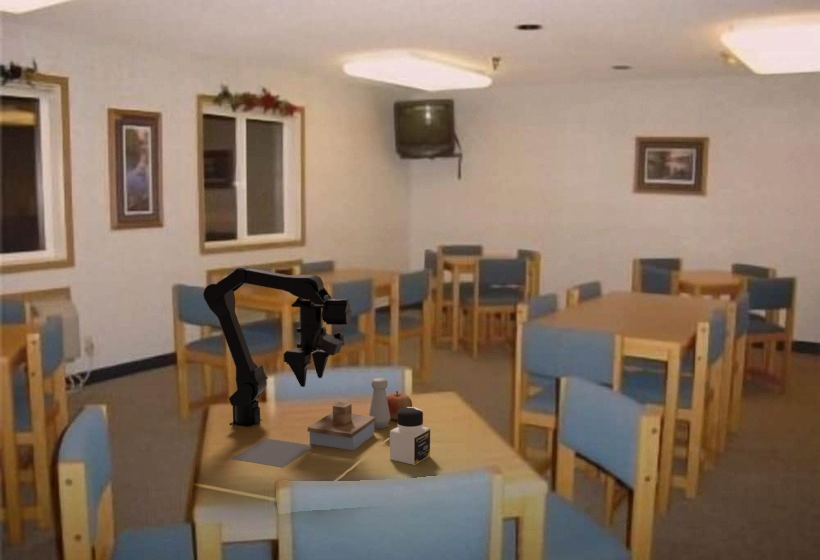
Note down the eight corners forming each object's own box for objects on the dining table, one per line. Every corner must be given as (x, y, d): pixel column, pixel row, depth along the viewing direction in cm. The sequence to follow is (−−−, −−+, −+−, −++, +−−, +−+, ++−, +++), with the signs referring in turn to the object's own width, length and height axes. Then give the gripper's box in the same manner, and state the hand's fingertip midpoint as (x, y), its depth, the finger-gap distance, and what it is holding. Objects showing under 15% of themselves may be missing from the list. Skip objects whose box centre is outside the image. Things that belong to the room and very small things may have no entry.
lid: (307, 431, 189) (307, 409, 188) (334, 414, 202) (333, 394, 201) (351, 437, 184) (351, 415, 184) (375, 420, 197) (375, 399, 196)
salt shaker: (387, 430, 202) (387, 382, 200) (366, 429, 203) (366, 381, 201) (392, 423, 207) (392, 376, 205) (371, 422, 208) (371, 375, 207)
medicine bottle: (414, 465, 178) (415, 415, 176) (389, 459, 181) (389, 410, 180) (430, 456, 184) (430, 407, 182) (405, 450, 187) (405, 403, 186)
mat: (231, 461, 180) (231, 458, 180) (266, 440, 194) (266, 438, 194) (282, 469, 175) (282, 467, 175) (314, 448, 189) (314, 445, 189)
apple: (395, 425, 206) (395, 396, 205) (377, 417, 212) (377, 389, 211) (418, 419, 211) (418, 391, 210) (400, 412, 217) (400, 384, 216)
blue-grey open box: (309, 445, 190) (309, 430, 190) (332, 430, 201) (332, 416, 201) (353, 452, 186) (353, 436, 185) (373, 436, 197) (373, 421, 196)
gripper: (321, 333, 188) (321, 395, 190) (354, 319, 205) (354, 376, 207) (281, 329, 192) (282, 390, 194) (317, 316, 209) (318, 372, 211)
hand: (311, 382), depth 202 cm, fingers open, 9 cm apart
